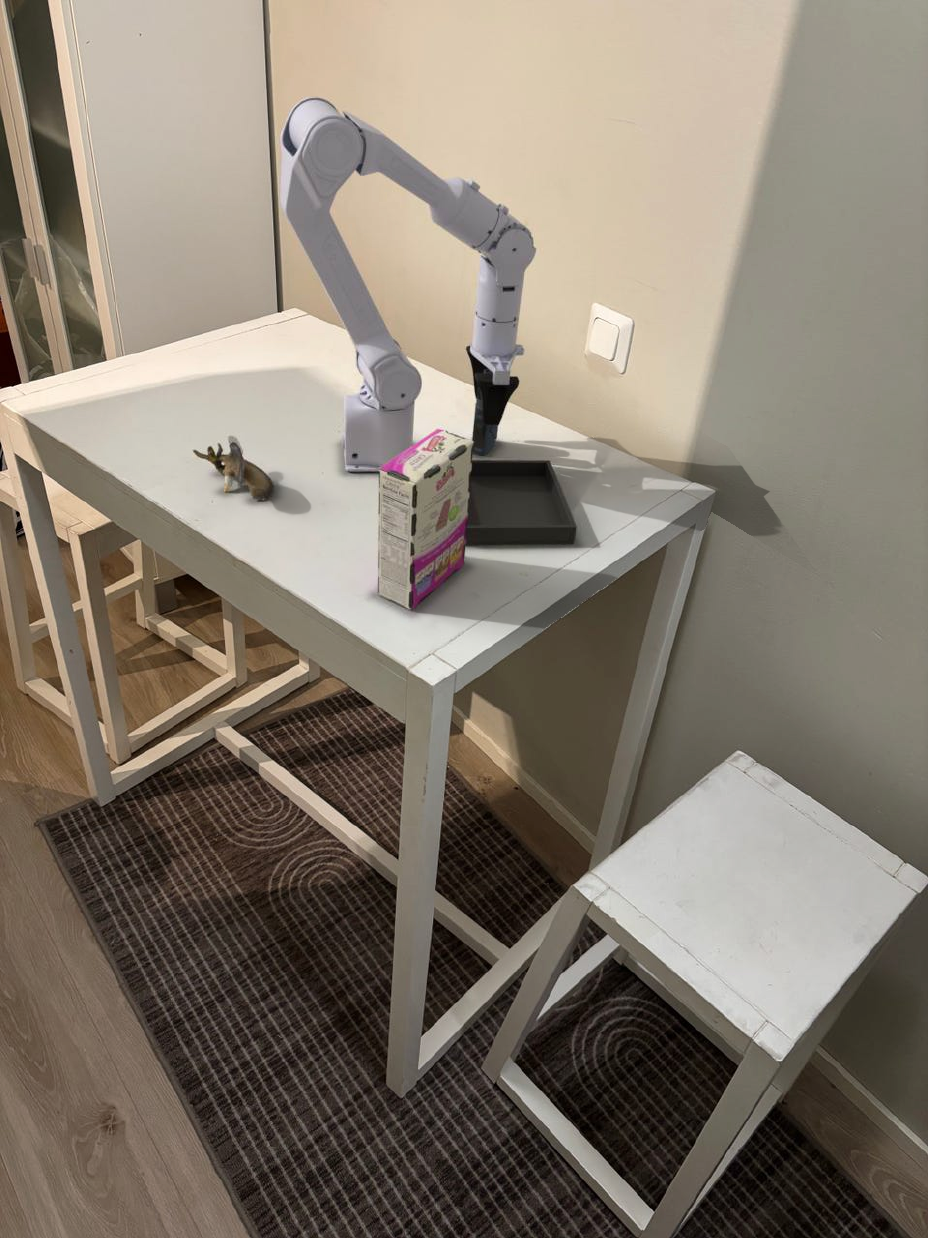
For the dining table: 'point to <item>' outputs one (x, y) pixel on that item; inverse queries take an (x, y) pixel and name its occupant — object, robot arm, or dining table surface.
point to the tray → (517, 504)
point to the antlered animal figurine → (239, 469)
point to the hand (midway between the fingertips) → (487, 411)
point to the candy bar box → (423, 517)
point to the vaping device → (482, 429)
